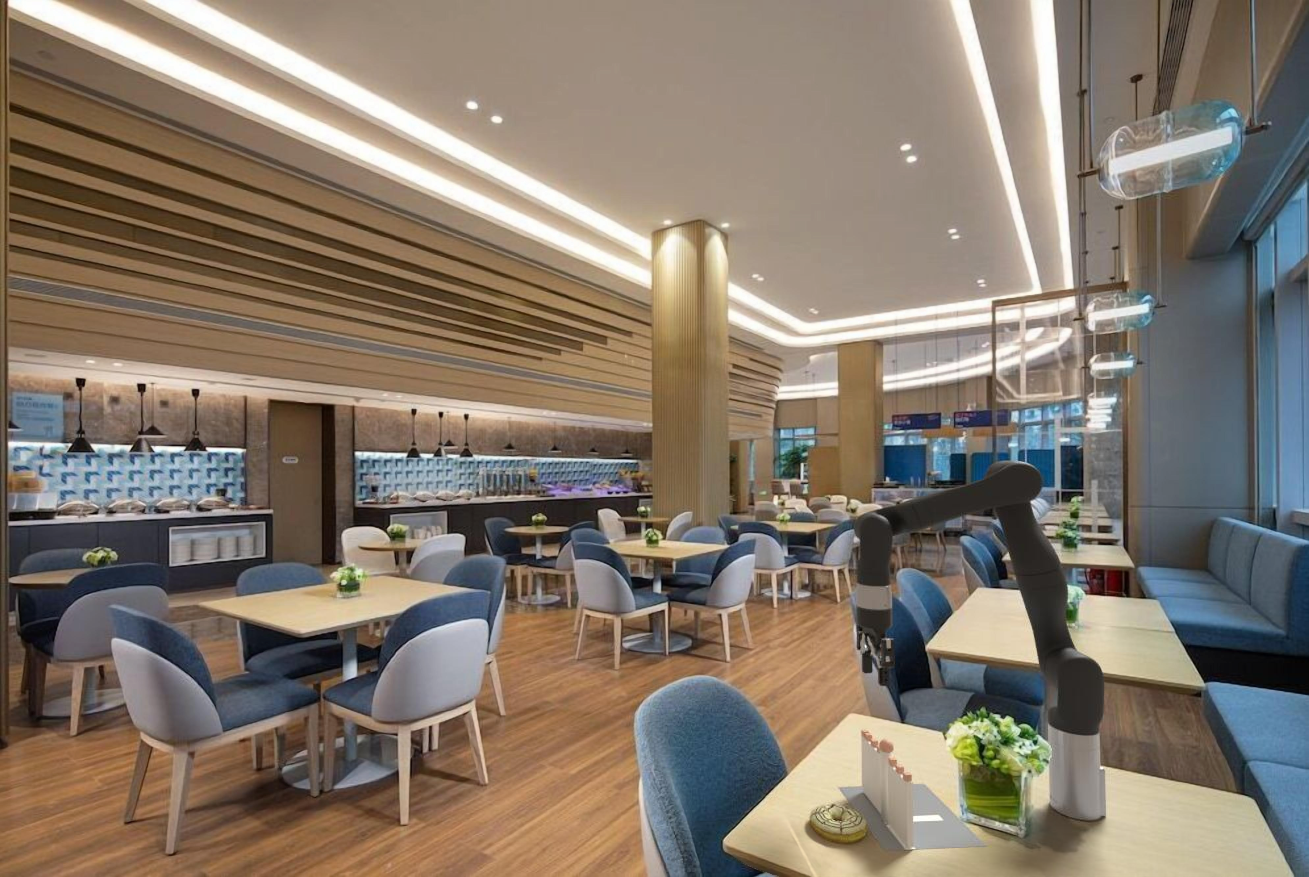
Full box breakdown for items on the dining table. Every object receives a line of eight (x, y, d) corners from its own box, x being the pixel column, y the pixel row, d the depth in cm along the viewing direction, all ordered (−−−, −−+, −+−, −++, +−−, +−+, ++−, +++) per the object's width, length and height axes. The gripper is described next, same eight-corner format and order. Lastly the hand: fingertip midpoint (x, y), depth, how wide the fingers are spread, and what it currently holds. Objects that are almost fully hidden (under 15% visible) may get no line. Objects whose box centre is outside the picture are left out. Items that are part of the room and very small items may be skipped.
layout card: (924, 786, 147) (924, 783, 147) (986, 848, 123) (986, 845, 123) (838, 789, 145) (838, 786, 145) (884, 853, 121) (884, 850, 121)
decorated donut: (833, 812, 136) (833, 794, 136) (877, 836, 127) (877, 816, 128) (799, 828, 130) (799, 809, 130) (843, 854, 121) (843, 834, 121)
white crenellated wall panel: (886, 813, 133) (885, 748, 134) (880, 813, 133) (879, 748, 134) (867, 789, 143) (866, 729, 144) (861, 790, 143) (861, 729, 143)
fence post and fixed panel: (890, 816, 133) (889, 736, 134) (917, 848, 122) (916, 761, 122) (877, 816, 133) (876, 736, 134) (903, 849, 122) (902, 761, 122)
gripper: (905, 611, 136) (907, 689, 135) (876, 597, 150) (877, 667, 150) (871, 612, 135) (872, 690, 135) (844, 597, 149) (846, 669, 149)
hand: (875, 678), depth 142 cm, fingers open, 8 cm apart
